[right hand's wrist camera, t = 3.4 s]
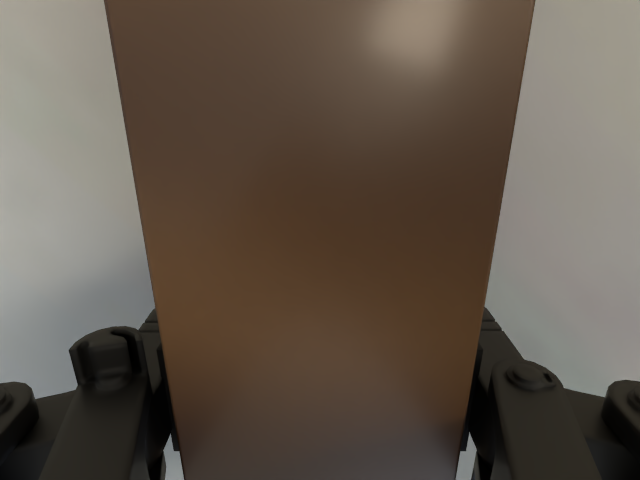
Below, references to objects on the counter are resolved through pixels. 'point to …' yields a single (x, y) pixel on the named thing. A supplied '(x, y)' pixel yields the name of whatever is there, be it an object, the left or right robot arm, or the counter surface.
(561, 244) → the counter surface
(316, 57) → the post
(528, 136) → the counter surface
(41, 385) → the counter surface
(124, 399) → the right robot arm
